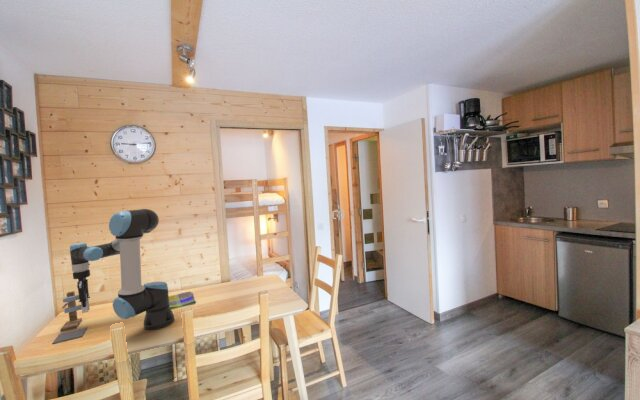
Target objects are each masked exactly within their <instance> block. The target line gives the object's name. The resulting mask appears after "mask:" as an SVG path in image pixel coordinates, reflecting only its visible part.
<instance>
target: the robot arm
mask: <svg viewBox="0 0 640 400" xmlns="http://www.w3.org/2000/svg"><path fill="white" fill-rule="evenodd" d="M108 223H109V224H108V229H109V231H110V233H111V235H112V236H114V237H115V239H113V240H112V241H111V242H107V243H104V244H98V245H93V246H92V245H91V246H88V245H87V243H86V242H77V243H73V244H70V245H69V255H70V260H71V261H70V262H71V270H72V271H71V272H72V279H73V280H78V281H77V284H76V287H77V290H78V291H77V292H78V295H79V300H78V302H79V303H80V305H81V307H82V310H81V313H82V314H84V313H88V312H89V311H90V310H91V309H90V301H89V299H90V298H91V296H90V293H89V279H88V278H89V277H90V276H91V271H90V265H91V263H89V262H94V261H99V260H100V259H105V258H107V257H112V256H116V255H119V259H120V261H119V263H120V265H119V266H120V281H121V288H119V290H118V292H117V297H115V298H114V299H113V301H112V308H113V311H114V314H116V315H117V317H118V318H120V319H122V320H127V319H130V318H135V317H136V316H138V315H139V314H142V313H144V312H145V316H144V320H143V322H142V323H143V325H142V326H143V329H144V330H147V331H151V330H152V331H153V330H154V331H155V330H158V329H162V328H165V327H168V326H169V325H171V324H173V323H174V322H175V315H174V313H173V311H172V310H171V309H170V305H169V296H170V295H169V288H168V283H167V282H166V281H152V282H148V283H147V282H146V283H144V284H143V285H142V268H141V265H142V264H141V239H142V238H143V237H144V235H145V234H148V233H151V232H152V231H154V230H156V228H157V227H158V225H159V223H160V219H159V216H158V215H157V213H156V212H155V211H153V210H152V209H149V208H140V209H132V210H131V209H130V210H121V211H117V212H114V214H113V215H112V216H111V217H110V219H109V222H108ZM86 293H87V299H86ZM87 300H88V303H87Z"/></svg>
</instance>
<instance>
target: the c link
mask: <svg viewBox="0 0 640 400" xmlns="http://www.w3.org/2000/svg"><path fill="white" fill-rule="evenodd" d="M86 299H88V298H87V293H86ZM74 300H75V301H77V300H78V301H80V299H79V294H77V295H76V294H75V296H71V297H67V296H66V297H64V298H62V303H67V302H69V301H74ZM88 300H89V299H88ZM88 300H87V303H88ZM63 311H64V314H69V312H73V311H82V307H81V304H80V305H76V306H74V307H70V308H68V307H67V308H66V307H65V308H64V310H63Z"/></svg>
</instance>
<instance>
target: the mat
mask: <svg viewBox="0 0 640 400" xmlns="http://www.w3.org/2000/svg"><path fill="white" fill-rule="evenodd" d="M87 329H88V327H83V328H79V329H73V330H68V331H64V332H60V333H59V334H58V335H57V336H56V338H55V339H54V340H53V342H52V345H56V344H59V343H63V342H67V341H72V340H76V339H79V338H80V339H81V338H83V336H84V334H85V333H86V331H87Z"/></svg>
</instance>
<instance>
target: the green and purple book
mask: <svg viewBox="0 0 640 400" xmlns="http://www.w3.org/2000/svg"><path fill="white" fill-rule="evenodd" d="M169 305H170V309H171V311H172V310H177V309H180V308H184V307H188V306H192V305H196V299H195V297H194V293H193V292H192V291H186V292H181V293H177V294H174V295H169Z"/></svg>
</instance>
